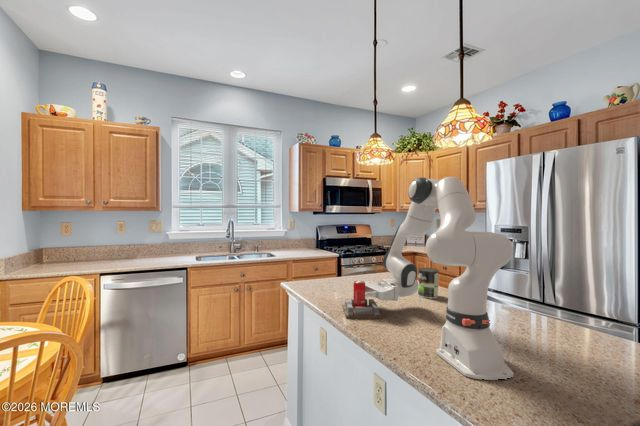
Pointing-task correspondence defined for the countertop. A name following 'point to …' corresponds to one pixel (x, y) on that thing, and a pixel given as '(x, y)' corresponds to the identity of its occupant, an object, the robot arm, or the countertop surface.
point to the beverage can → (359, 294)
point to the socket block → (361, 310)
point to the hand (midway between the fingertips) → (359, 291)
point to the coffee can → (428, 283)
